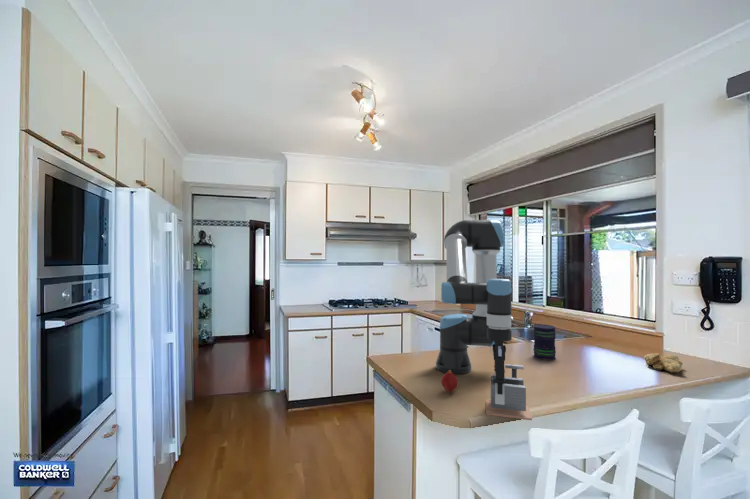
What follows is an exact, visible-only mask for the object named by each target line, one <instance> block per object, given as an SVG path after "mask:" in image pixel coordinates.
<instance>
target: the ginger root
mask: <svg viewBox="0 0 750 499" xmlns="http://www.w3.org/2000/svg"><path fill="white" fill-rule="evenodd" d="M643 359H644V361H645V363H646V364H647V365H648V366H652V367H653V369H654V370H657V371H660V370H664V371H666V372H669V373H678V372H679V373H680V371H682V368H683V362H682V361H681V360H680V358H679V355H677V354H672V353H671V354H666V355H664V356H663V355H662V354H661V353H658V352H657V353H655V352H653V353H648V354H646V355H644V356H643Z"/></svg>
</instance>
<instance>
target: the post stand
mask: <svg viewBox="0 0 750 499" xmlns="http://www.w3.org/2000/svg"><path fill="white" fill-rule="evenodd" d="M524 368H525V367H524V365H522V364H510V363H509V364H508V363H504V369H511V377H512V378H518V377H517V376H518V375H517V374H518V372H517V370H522V371H523V370H524Z"/></svg>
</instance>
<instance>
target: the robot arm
mask: <svg viewBox="0 0 750 499" xmlns="http://www.w3.org/2000/svg"><path fill="white" fill-rule="evenodd" d="M504 235H505V233H504V229H503V225H502V223H501V221H500V220H497V219H475V220H474V219H473V220H472V219H471V220H468V219H467V220H466V219H465V220H464V219H463V220H461V221H457V222H455V223H454V224H453V225H451V227H449V228H448V229H447V231H446V233H445V235H444V238H443V246H444V248H445V249H446V250H445V251H446V254H445V255H446V256H445V257H446V281H445V282H444V281H443V282H442V283H441V288H440V289H441V294H440V295H441V296H440V297H441V298H440V300H441V303H444V304H451V305H475V311H473V313H472V316H471V317H468V314H466V313H455V314H454V313H453V314H452V313H451V314H447V315H444V316H442V317H441V318H440V321H439V351H438V355H437V357H436V360H435V369H436V370H437V371H439V372H442V373H444V374H446V373H447V372H448V371H449V370H451V372H452V373H453V374H454V375H455V374H456V375H460V374H462V375H463V374H467V373H470V372H472V363H471V359H470V356H469V352H468V346H472V347H473V346H476V347H479V346H480V347H488V348H491V347H492V353H493V354H492V355H493V361H494V365H493V368H494V370H493V373H494V374H493V376H496V380H493V383H495V404H501V405H505V397H504V383H505V380H504V377H505V373H506V371H505V369H506V368H505V361H506V352H507V347H506V344H504V342H511V340H513V339H512V336H513V335H512V334H513V333H512V329H511V327H512V321H514V317H513V316H512V292H513V289H512V282H511V280H510V279H508V278H507V279H505V278H497V273H498V270H497V255H498V254H499V253H500V252H501V248H503V247H504V246H505V236H504ZM467 247H469V248H471V251H472V252H473V254H475V282H468V272H467V259H466V248H467ZM498 378H499V379H498Z"/></svg>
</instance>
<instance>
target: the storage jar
mask: <svg viewBox="0 0 750 499" xmlns="http://www.w3.org/2000/svg"><path fill="white" fill-rule="evenodd" d="M556 333H557V332H556V326H554V325H549V324H534V325H533V338H534V339H533V341H534V342H533V343H534V344H533V353H534V354H533V357H534V358H535V359H540V360H546V361H551V360H555V359H556V355H557V354H556V352H557V351H556V336H557V335H556Z"/></svg>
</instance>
